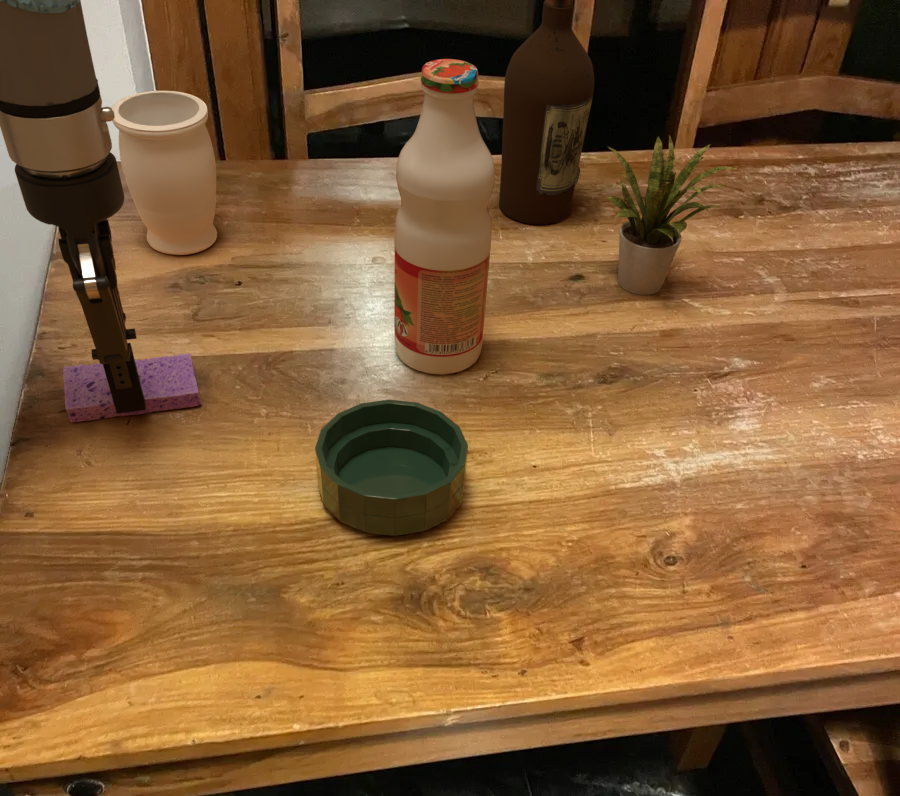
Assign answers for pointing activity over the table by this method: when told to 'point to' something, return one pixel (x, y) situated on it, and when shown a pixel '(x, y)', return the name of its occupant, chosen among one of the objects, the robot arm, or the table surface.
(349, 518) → the dish
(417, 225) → the fruit juice
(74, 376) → the sponge
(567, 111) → the olive oil
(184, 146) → the jar
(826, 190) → the table surface
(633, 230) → the house plant
